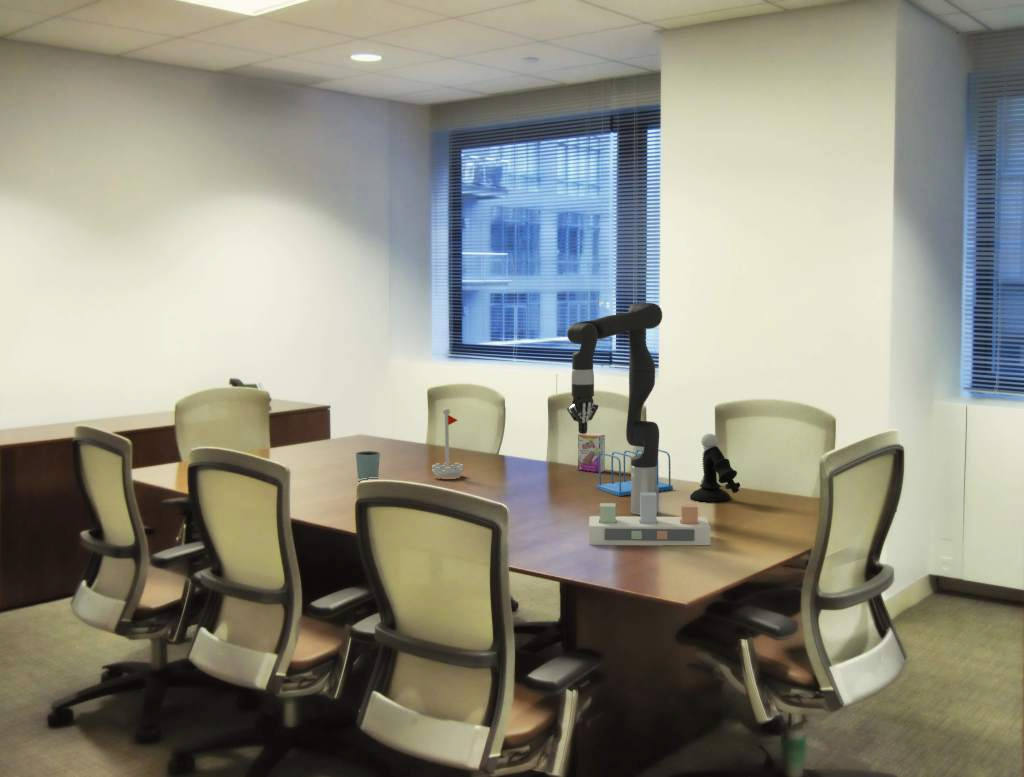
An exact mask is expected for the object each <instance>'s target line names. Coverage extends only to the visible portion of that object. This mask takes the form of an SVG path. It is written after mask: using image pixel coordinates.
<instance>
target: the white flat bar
mask: <svg viewBox="0 0 1024 777" xmlns="http://www.w3.org/2000/svg"><path fill="white" fill-rule="evenodd" d="M588 519H589V520H588V521H589V522H588V545H589V546H590V545H591V546H594V545H595V546H662V545H710V546H711V526H710V523H709V521H708V518H707V516H698V524H681V516H657V524H640V516H622V515H620V516H616V523H600V515H594V516H591V515H589V518H588Z"/></svg>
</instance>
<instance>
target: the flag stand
mask: <svg viewBox="0 0 1024 777" xmlns="http://www.w3.org/2000/svg"><path fill="white" fill-rule="evenodd" d="M450 412H451V410H450V409H449V408H448V407H445V408H443V410H442V414H444V439H445V440H444V444H445V445H444V446H445V447H444V448H445V449H444V450H445V451H444V452H445V453H444V454H445V462H443V464H442V465H441V463H439V462H438V463H434V464H432V466H431V470H432V472H433V473H434V476H435V475H436V476H439V477H458V476H460V477H461V473H462V472H463V468H464V466H463V464H462V463H461V464H460V463H459V462H454V463H453V464H451V462H450V444H449V443H450V442H449V441H450V438H449V436H450V435H449V432H450V431H449V429H450V428H449V426H450V425H451V424H453V423H456V422H458V421H459V420H458V419H457V418H455V417H452V416H451V415H450Z"/></svg>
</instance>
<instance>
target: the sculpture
mask: <svg viewBox="0 0 1024 777" xmlns="http://www.w3.org/2000/svg"><path fill="white" fill-rule="evenodd" d="M718 443H719V440H718V437H717V436H716V435H715V434H713V433H706V434H704V435H703V436H702V437H701V445H702V448H703V452H702V459H701V460H702V461H701V462H702V463H701V465H702V471H703V476H702V479H701V480H700V483H701V484H700V485H699V487H700V488H698V489H697V490H695V491H693V492H692V493H690V495H689V500H691V501H693V500H694V501H693V502H696V501H698V503H702V502H706V503H705V504H720V503H722V502H723V503H727V502H730V501H731V498H732V497H731V495H730V494H729V493H728V492H727V491H726V490H731V491H732V493H733V494H737V492H739V491H740V487H741V483H740V482H735V481H734V479H735V478H736V477H737V475H738V472H737V470H735V469H733V468H732V466H731V463H730V460H729V458H725V456H724V454H723V452H722V451H721V449H720V448H719V446H718ZM717 474H718V477H717ZM717 478H718V480H717ZM718 482H719V483H720V484H725V489H726V490H724V489H722V485H720V484H719V483H718Z"/></svg>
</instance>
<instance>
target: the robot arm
mask: <svg viewBox="0 0 1024 777" xmlns="http://www.w3.org/2000/svg"><path fill="white" fill-rule="evenodd" d="M662 319H663V311H662V308H661V307H660V306H659V305H658V304H657V303H654V302H634V303H633V304H631V305H630V306H629V308H628V312H626V313H618V314H611V315H605V316H603V317H599V318H596V319H592V320H591V319H590V320H586V321H578V322H575V323H572V324H571V325H570V326H569V327H568V329H567V332H566V335H567V339H568V340H569V341H570V342H571V343H573V344H574V345H575V344H576V345H580V348H579V351H575V352H572V356H571V357H572V358H571V363H572V364H571V366H572V367H571V368H572V369H571V396H572V402H571V403H572V404H571V405H570V406H568V407H566V411H567V412H568V413H569V415H570V417H571V419H572V420H573V421H574V422H577V423H578V434H586V433H588V423H589V421H592V420H593V419H594V416H595V414H596V413H597V412H598V409H599V405H598V404H596V403H594V398H593V397H594V396H595V375H594V356H595V353H596V352H595V351H596V348H597V343H598V340H603V339H606V338H610V337H613V336H617V335H620V334H622V333H623V334H624V333H627V332H628V342H629V346H628V347H629V349H628V350H629V366H628V368H629V369H628V370H629V371H628V409H627V419H626V428H625V435H626V436H625V437H626V441H627V443H628V445H630V446H633V447H643V449H642V450H643V451H642V453H640V454H641V455H638V454H637V456H636V455H635V456H631V457H632V459H631V458H630V474H631V475H630V481H631V495H630V512H631V514H633V515H637V516H640V492H646V493H656V495H657V513H659V510H660V509H659V508H660V506H659V504H660V502H659V501H660V499H659V496H660V495H659V494H660V491H659V487H658V486H657V459H658V460H659V451H658V450H660V448H659V446H660V428H659V425H658V424H657V422H654V421H648V420H647V421H646V420H642V411H643V407H644V404H645V403H646V401H647V399H648V398H649V396H650V394H651V392H652V391H653V389H654V387H655V384H656V364H655V361H654V359H653V357H652V355H651V353H650V351H649V348H648V346H647V343H646V334H645V333H646V330H650V329H654V328H657V327H659V325H660V324H661V323H662Z"/></svg>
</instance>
